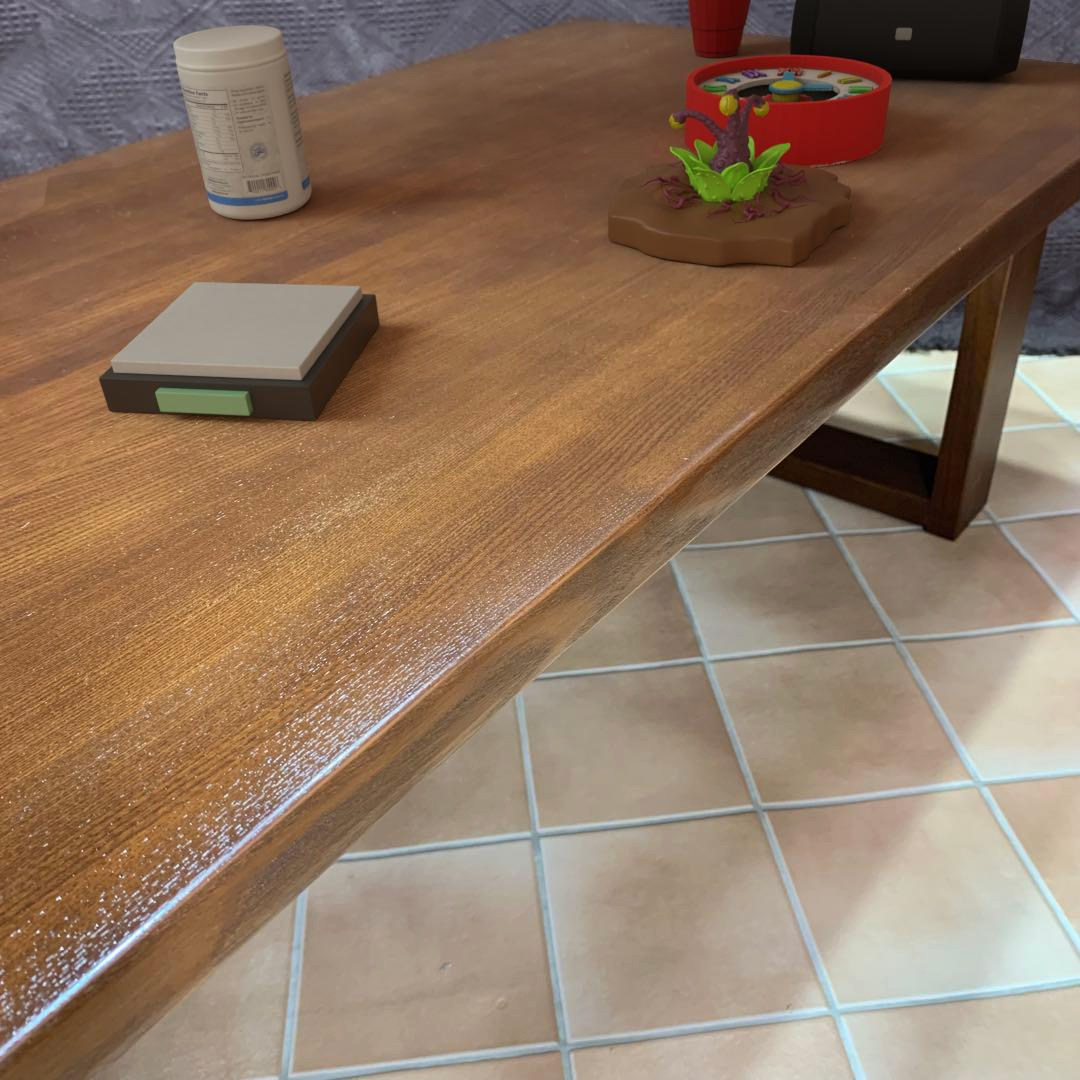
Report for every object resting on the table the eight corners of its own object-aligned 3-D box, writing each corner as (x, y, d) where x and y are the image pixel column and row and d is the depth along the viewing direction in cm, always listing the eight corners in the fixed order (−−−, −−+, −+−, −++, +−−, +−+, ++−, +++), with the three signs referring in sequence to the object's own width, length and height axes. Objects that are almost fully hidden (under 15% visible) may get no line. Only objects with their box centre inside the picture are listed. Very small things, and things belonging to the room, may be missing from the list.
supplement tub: (255, 184, 106) (222, 21, 98) (333, 194, 103) (307, 26, 94) (188, 216, 99) (146, 44, 91) (270, 228, 96) (235, 50, 87)
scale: (104, 416, 69) (89, 369, 67) (200, 319, 80) (189, 277, 78) (312, 426, 66) (303, 378, 65) (380, 325, 78) (373, 281, 76)
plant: (575, 253, 88) (571, 109, 81) (646, 178, 102) (647, 51, 95) (824, 278, 81) (842, 124, 74) (862, 195, 96) (880, 60, 89)
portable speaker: (785, 81, 129) (793, -11, 123) (798, 62, 136) (806, -26, 131) (1013, 89, 121) (1033, -9, 116) (1014, 69, 129) (1032, -25, 123)
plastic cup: (738, 65, 137) (744, -41, 130) (662, 58, 142) (664, -45, 135) (772, 47, 144) (780, -54, 137) (699, 41, 149) (703, -57, 142)
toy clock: (674, 103, 101) (697, 54, 117) (672, 166, 105) (695, 110, 120) (895, 105, 97) (889, 54, 113) (886, 170, 101) (881, 112, 116)
